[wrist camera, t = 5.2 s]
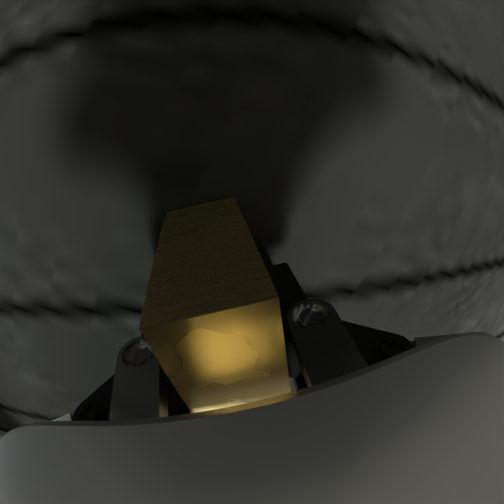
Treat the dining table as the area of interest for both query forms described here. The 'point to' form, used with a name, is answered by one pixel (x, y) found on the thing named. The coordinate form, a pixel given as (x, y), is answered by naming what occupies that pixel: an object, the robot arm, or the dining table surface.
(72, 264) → the dining table surface
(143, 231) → the dining table surface
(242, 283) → the brass block
